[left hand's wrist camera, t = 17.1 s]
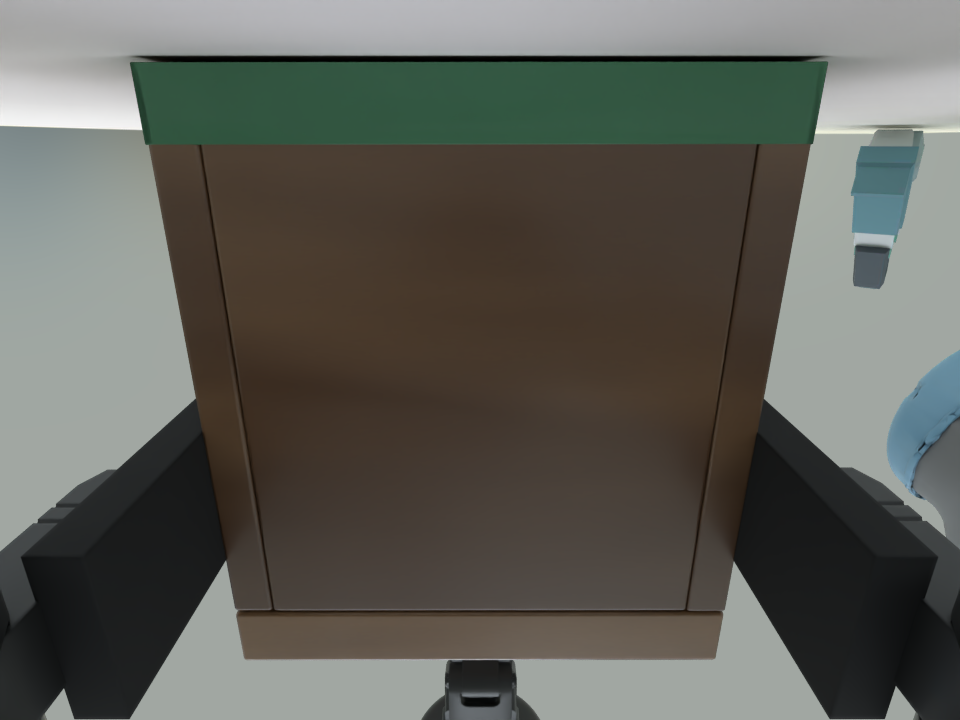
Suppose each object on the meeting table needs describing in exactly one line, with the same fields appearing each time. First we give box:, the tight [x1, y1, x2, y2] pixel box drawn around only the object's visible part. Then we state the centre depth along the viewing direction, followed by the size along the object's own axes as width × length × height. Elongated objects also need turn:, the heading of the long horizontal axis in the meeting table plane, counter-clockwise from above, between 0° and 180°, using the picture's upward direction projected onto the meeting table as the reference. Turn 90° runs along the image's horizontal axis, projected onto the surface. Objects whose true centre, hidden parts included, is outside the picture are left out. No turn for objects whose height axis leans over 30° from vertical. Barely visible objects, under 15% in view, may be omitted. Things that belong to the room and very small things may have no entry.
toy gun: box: [851, 129, 924, 289], centre depth 48 cm, size 4×19×10 cm
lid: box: [236, 606, 723, 660], centre depth 21 cm, size 17×10×8 cm, turn 0°
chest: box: [130, 62, 828, 611], centre depth 17 cm, size 16×10×10 cm, turn 0°
